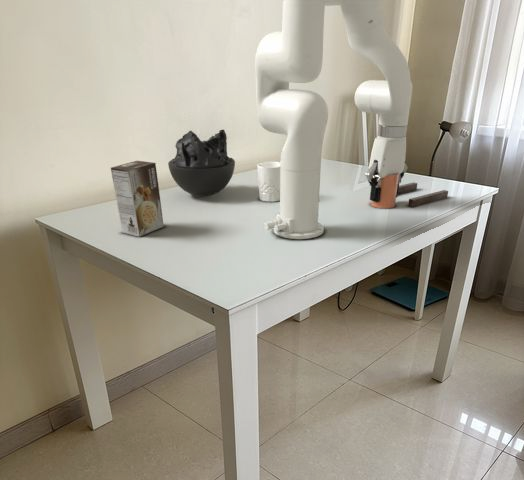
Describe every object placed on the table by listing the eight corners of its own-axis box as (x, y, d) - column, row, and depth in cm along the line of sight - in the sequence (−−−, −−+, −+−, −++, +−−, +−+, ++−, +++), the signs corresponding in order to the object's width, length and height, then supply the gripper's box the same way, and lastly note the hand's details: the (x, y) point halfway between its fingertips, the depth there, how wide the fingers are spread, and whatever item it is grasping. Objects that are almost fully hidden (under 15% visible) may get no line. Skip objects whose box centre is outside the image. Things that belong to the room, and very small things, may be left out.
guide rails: (412, 207, 141) (413, 200, 140) (377, 197, 150) (378, 190, 149) (447, 197, 149) (448, 191, 148) (412, 188, 158) (413, 182, 157)
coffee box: (146, 223, 132) (137, 159, 123) (164, 227, 129) (156, 162, 120) (121, 233, 125) (109, 166, 116) (139, 237, 122) (129, 170, 114)
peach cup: (383, 209, 140) (387, 176, 135) (366, 204, 144) (369, 172, 139) (399, 205, 143) (404, 173, 138) (382, 200, 147) (385, 169, 143)
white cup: (281, 203, 146) (281, 167, 141) (255, 201, 147) (254, 166, 142) (285, 195, 153) (286, 162, 147) (260, 194, 154) (260, 161, 149)
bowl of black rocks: (161, 202, 148) (153, 134, 138) (185, 185, 164) (180, 123, 154) (225, 206, 144) (221, 136, 134) (243, 188, 160) (241, 125, 150)
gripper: (402, 127, 140) (394, 191, 149) (359, 133, 131) (352, 200, 141) (424, 130, 135) (413, 196, 144) (380, 137, 126) (372, 207, 136)
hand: (383, 198), depth 143 cm, fingers closed on peach cup, 6 cm apart
